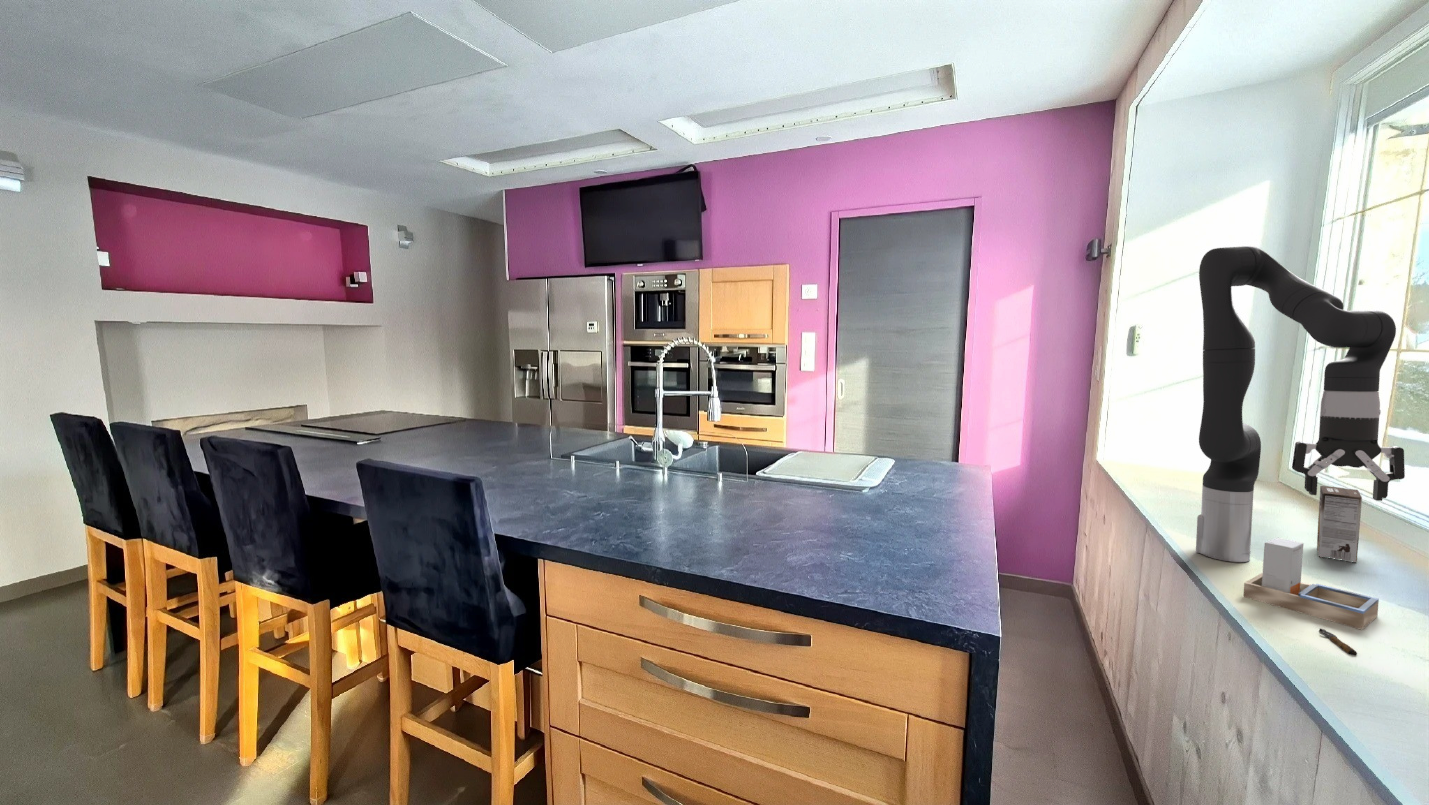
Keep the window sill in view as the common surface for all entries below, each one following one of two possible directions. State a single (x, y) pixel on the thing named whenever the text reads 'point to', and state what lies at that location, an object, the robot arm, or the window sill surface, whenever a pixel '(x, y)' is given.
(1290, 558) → the skincare box
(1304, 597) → the organiser
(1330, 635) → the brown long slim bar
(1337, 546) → the coffee box
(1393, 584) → the window sill surface
